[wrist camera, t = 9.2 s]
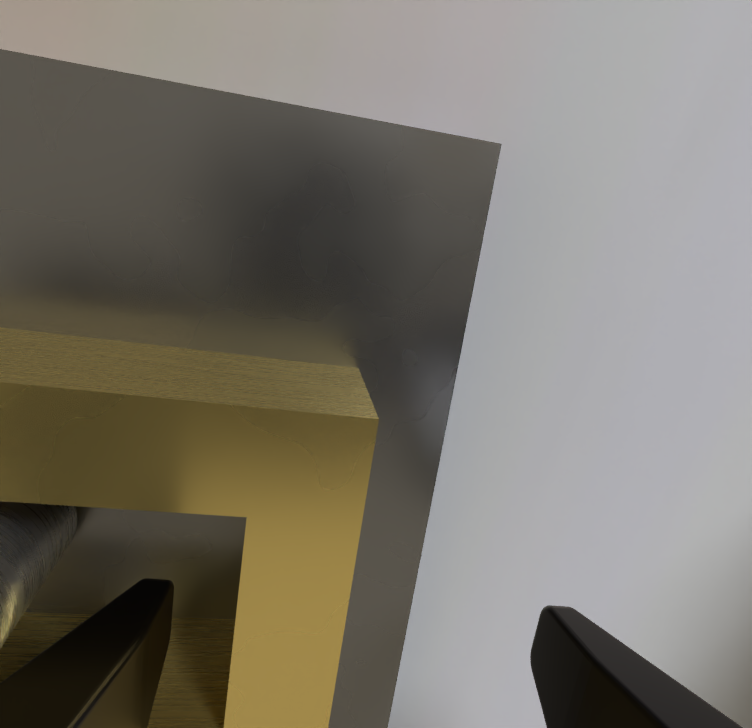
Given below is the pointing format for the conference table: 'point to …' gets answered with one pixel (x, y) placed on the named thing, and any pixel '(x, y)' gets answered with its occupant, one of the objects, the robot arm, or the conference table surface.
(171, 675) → the yellow rectangular frame
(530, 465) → the conference table surface
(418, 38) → the conference table surface
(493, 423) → the conference table surface
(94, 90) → the keeper plate
